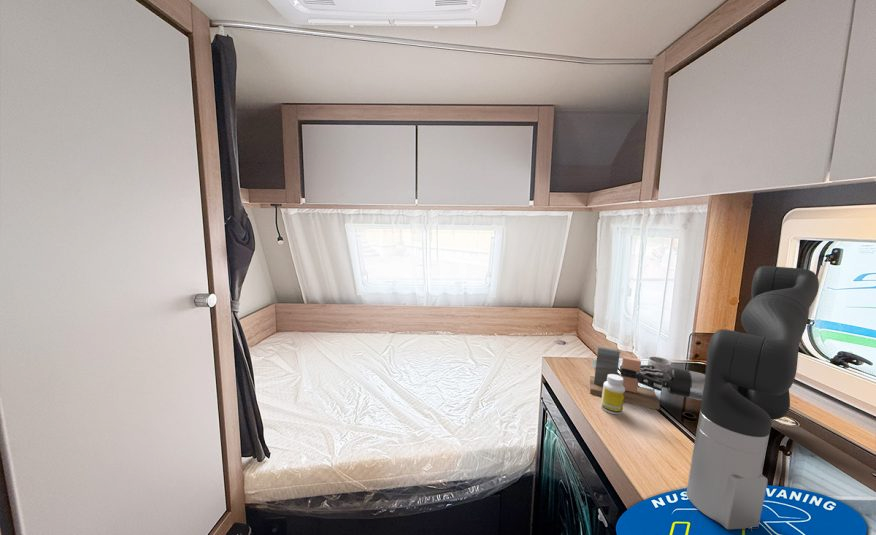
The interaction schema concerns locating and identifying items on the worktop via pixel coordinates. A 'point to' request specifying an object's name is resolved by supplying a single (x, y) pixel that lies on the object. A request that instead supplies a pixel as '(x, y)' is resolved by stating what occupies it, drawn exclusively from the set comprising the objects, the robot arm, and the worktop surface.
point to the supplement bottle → (613, 394)
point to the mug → (660, 363)
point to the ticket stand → (609, 365)
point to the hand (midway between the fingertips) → (620, 370)
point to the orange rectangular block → (630, 364)
